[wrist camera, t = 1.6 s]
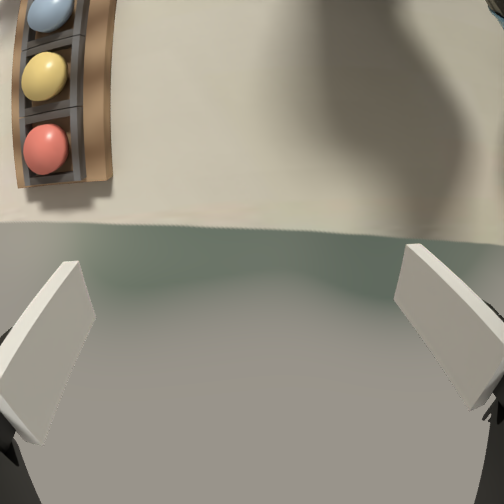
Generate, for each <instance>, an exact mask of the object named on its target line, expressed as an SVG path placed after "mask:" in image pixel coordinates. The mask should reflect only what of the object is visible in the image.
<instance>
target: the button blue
mask: <svg viewBox="0 0 504 504" xmlns="http://www.w3.org/2000/svg"><path fill="white" fill-rule="evenodd" d="M74 4H75V0H34V2H33V3H32V5H31V7H30V9H29V11H28V16H27V21H28V25H29V27H30V28H31V29H33V30H35V31H39V32H42V33H50V32H53V31H55V30H57V29H59V28H60V27H61V26H63V25H64V24H65V23H66V21H67V20H68V19H69V17H70V16H71V14H72V12H73V9H74Z"/></svg>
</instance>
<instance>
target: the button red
mask: <svg viewBox="0 0 504 504" xmlns="http://www.w3.org/2000/svg"><path fill="white" fill-rule="evenodd" d="M68 153H69V140H68V137H67V135H66V133H65V131H64V130H63V129H62V128H61V127H60V126H58V125H56V124H45V125H40V126H37V127H35V128H34V129H32V130H31V131H30V132H29V134H28V135H27V137H26V139H25V142H24V148H23V154H24V159H25V162H26V164H27V166H28V167H29V168H30V170H32V171H33V172H34V173H36V174H39V175H45V174H49V173H51V172H53V171H55V170H57V169H59V168H60V167H61V166H62V165H63V164H64V163H65V161H66V159H67V157H68Z"/></svg>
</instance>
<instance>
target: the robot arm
mask: <svg viewBox="0 0 504 504" xmlns="http://www.w3.org/2000/svg"><path fill="white" fill-rule="evenodd" d="M485 1H486V2H487V4H488V8H489V10H490V12H491V13H492V14H493V15H494V16H495V17H496V18H497V20H498V21H499V23H500V24H501V26H502V28H503V29H504V0H485ZM394 301H395V303H396V304H397V305H398V306H399V308H400V309H401V311H402V312H403V313H404V315H405V316H406V318H407V319H408V320H409V322H410V323H411V324H412V326H413V327H414V329H415V330H416V331H417V333H418V334H419V336H420V337H421V339H422V340H423V341H424V343H425V344H426V346H427V347H428V349H429V350H430V352H431V353H432V355H433V356H434V358H435V359H436V360H437V362H438V363H439V365H440V366H441V368H442V370H443V371H444V373H445V374H446V376H447V377H448V378H449V380H450V382H451V383H452V385H453V386H454V388H455V390H456V391H457V393H458V394H459V396H460V398H461V399H462V401H463V402H464V404H465V406H466V407H467V409H468V411H471V410H473V409H476V408H478V407H480V406H482V405H484V404H485V403H486V401H487V400H488V399H489V397H490V396H491V394H492V393H494V395H495V396H496V399H495V401H494V402H493V403H492V405H491V406H490V408H489V409H488V410H487V412H486V413H485V414H484V416H483V418H482V420H485V419H486V418H487V417H488V415H489V414H490V413H491V418H490V419H489V420H488V422H490V430H489V437H488V443H487V449H486V455H485V460H484V466H483V470H482V475H481V479H480V483H479V487H478V492H477V495H476V499H475V503H474V504H504V318H503V317H502V316H501V315H498V314H499V313H498V312H497V311H496V310H495V309H494V308H493V307H492V306H491V305H490V304H488V303H486V302H485V301H484V300H482V299H480V298H479V297H478V296H477V295H476V294H475V293H474V292H473V291H472V290H471V289H470V288H469V287H468V286H467V285H466V284H465V283H464V282H463V281H462V280H461V279H460V278H459V277H457V276H456V275H455V274H454V273H453V272H452V271H451V270H450V269H449V268H447V266H445V265H444V264H443V263H442V262H441V261H440V260H439V259H438V258H436V257H435V256H434V255H433V254H432V253H431V252H430V251H429V250H427V249H426V248H425V247H424V246H422V245H421V244H406V247H405V252H404V256H403V261H402V266H401V270H400V275H399V279H398V283H397V287H396V291H395V296H394ZM95 319H96V315H95V312H94V309H93V306H92V303H91V300H90V297H89V294H88V290H87V287H86V284H85V280H84V277H83V273H82V270H81V267H80V263H79V261H70V262H69V261H68V262H63V263H62V264H61V265H60V267H59V268H58V269H57V270H56V271H55V273H54V274H53V275H52V276H51V277H50V279H49V280H48V281H47V283H46V284H45V285H44V286H43V288H42V289H41V290H40V291H39V293H38V294H37V295H36V297H35V298H34V299H33V300H32V302H31V303H30V304H29V306H28V307H27V309H26V310H25V311H24V313H23V314H22V315H21V317H20V318H19V320H18V321H17V322H16V324H15V325H14V327H12V328H10V329H9V330H8V331H7V332H6V333H4V334H3V335H2V336H1V338H0V504H41V502H40V499H39V497H38V495H37V493H36V491H35V488H34V486H33V484H32V481H31V479H30V476H29V474H28V471H27V469H26V466H25V463H24V461H23V458H22V455H21V452H20V450H19V446H18V444H17V442H16V441H15V439H14V438H13V436H14V434H15V431H17V433H18V434H19V435H20V436H21V437H22V438H23V439H24V440H25V441H26V442H30V443H33V444H37V445H40V446H44V443H45V440H46V437H47V434H48V431H49V428H50V426H51V423H52V420H53V417H54V415H55V412H56V409H57V406H58V404H59V401H60V399H61V396H62V394H63V391H64V389H65V386H66V384H67V381H68V379H69V377H70V374H71V371H72V369H73V367H74V364H75V362H76V360H77V358H78V356H79V353H80V351H81V349H82V347H83V344H84V342H85V340H86V338H87V336H88V334H89V331H90V329H91V327H92V325H93V323H94V321H95Z"/></svg>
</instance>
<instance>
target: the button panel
mask: <svg viewBox="0 0 504 504" xmlns="http://www.w3.org/2000/svg"><path fill="white" fill-rule="evenodd" d="M33 2H34V0H21V3H20V8H19V14H18V20H17V27H16V35H15V44H14V54H13V68H12V134H13V149H14V160H15V169H16V177H17V185H18V188H26V187H35V186H44V185H55V184H65V183H77V182H91V181H106V180H108V179H109V178H111V177H112V176H113V170H112V153H111V125H110V85H111V58H112V42H113V30H114V19H115V10H116V2H117V0H75V4H74V9H73V12H72V14H71V16H70V17H69V19H68V20H67V21H66V23H65V24H64V25H63V26H61V27H60V28H59V29H57V30H55V31H53V32H50V33H42V32H39V31H35V30H33V29H31V28H30V27H29V25H28V21H27V16H28V11H29V9H30V7H31V5H32V3H33ZM42 52H51V53H56V54H59V55H61V56H62V57H64V59H65V60H66V62H67V65H68V78H67V81H66V84H65V86H64V87H63V89H62V90H61V92H60V93H59V94H58V95H57V96H55V97H54V98H52V99H50V100H45V101H33V100H30V99H28V98H27V97H26V96H25V94H24V92H23V90H22V84H21V81H22V75H23V72H24V69H25V67H26V65H27V64H28V62H29V61H30V60H31V59H32V58H33V57H34V56H36V55H37V54H39V53H42ZM45 124H56V125H58V126H60V127H61V128H62V129H63V130H64V131H65V133H66V135H67V137H68V140H69V153H68V157H67V159H66V161H65V163H64V164H63V165H62V166H61V167H60V168H59V169H57V170H55V171H53V172H51V173H49V174H45V175H39V174H36V173H34V172H33V171H32V170H30V168H29V167H28V166H27V164H26V162H25V159H24V154H23V148H24V142H25V139H26V137H27V135H28V134H29V132H30V131H31V130H32V129H34V128H35V127H37V126H40V125H45Z"/></svg>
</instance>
